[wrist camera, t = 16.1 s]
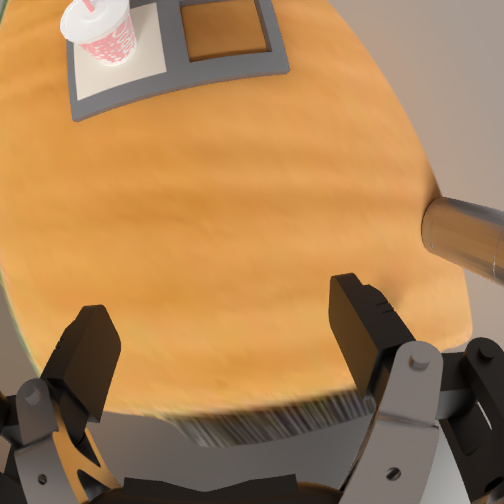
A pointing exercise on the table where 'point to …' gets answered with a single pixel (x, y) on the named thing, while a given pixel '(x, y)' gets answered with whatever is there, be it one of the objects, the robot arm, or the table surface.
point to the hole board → (164, 60)
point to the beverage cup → (101, 29)
